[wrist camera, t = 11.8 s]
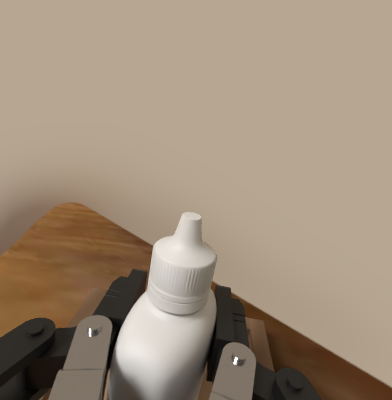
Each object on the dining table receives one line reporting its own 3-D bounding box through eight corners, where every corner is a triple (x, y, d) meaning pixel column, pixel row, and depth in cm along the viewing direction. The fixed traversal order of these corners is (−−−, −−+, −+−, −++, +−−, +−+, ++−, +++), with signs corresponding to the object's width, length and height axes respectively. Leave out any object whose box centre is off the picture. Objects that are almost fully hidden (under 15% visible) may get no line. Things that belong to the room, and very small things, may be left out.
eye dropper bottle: (78, 430, 13) (91, 200, 9) (173, 374, 17) (209, 192, 13) (114, 541, 10) (155, 264, 6) (221, 443, 14) (287, 230, 10)
